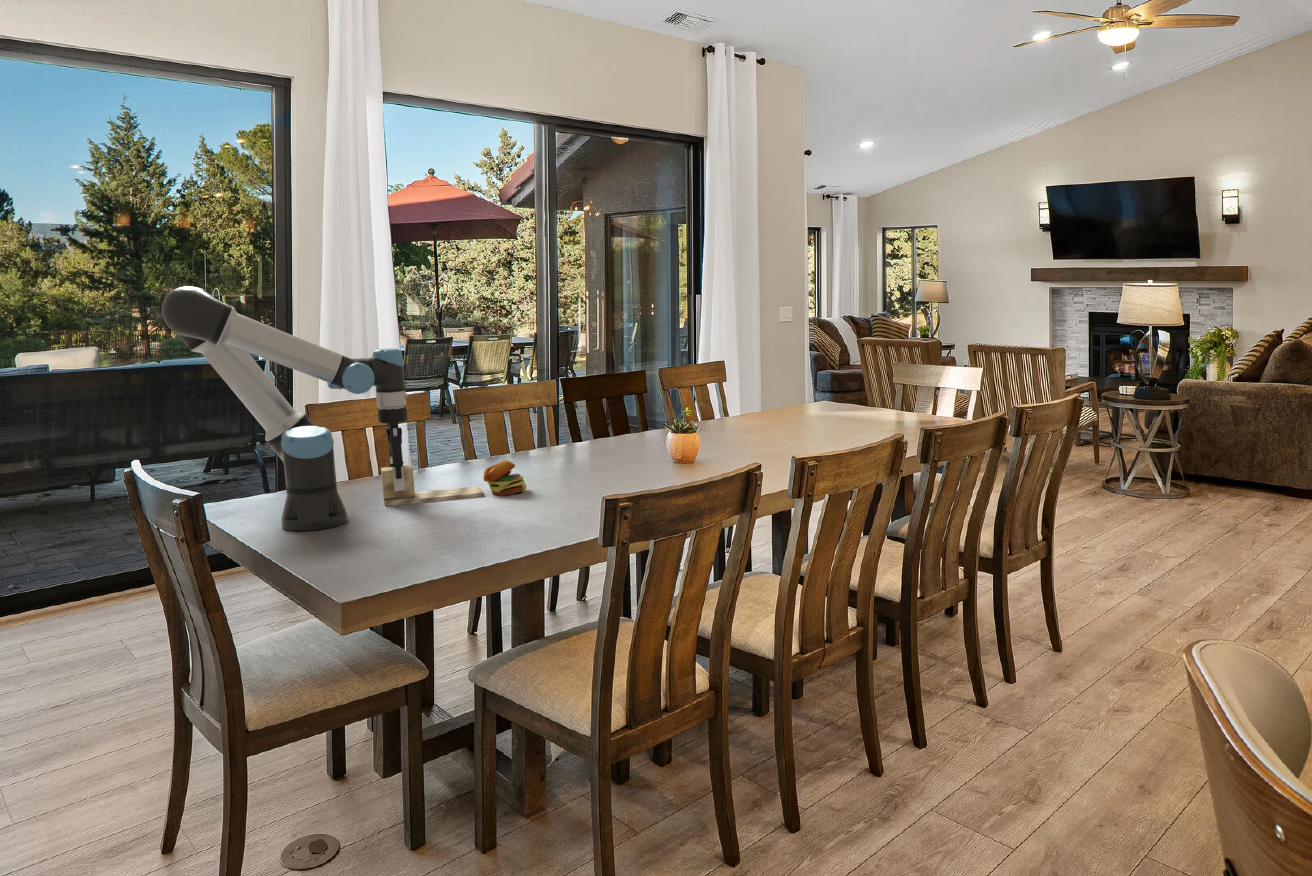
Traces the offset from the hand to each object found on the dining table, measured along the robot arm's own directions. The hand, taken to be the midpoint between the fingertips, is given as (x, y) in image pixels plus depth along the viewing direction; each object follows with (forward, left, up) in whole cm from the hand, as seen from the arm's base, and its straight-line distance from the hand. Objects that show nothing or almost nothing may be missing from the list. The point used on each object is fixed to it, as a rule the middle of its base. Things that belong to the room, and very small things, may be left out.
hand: (398, 485), depth 248 cm
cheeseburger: (+28, -2, -4) cm, 29 cm away
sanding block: (0, 0, -3) cm, 3 cm away
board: (+9, 0, -4) cm, 10 cm away
